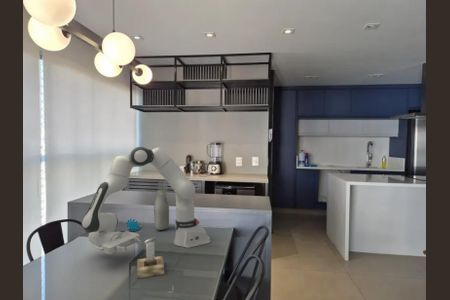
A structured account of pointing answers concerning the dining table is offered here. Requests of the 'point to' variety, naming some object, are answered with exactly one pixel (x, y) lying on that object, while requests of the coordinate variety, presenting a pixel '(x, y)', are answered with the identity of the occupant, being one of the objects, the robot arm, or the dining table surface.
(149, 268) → the socket block
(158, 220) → the glass bottle
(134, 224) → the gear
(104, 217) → the robot arm
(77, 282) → the dining table surface
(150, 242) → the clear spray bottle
